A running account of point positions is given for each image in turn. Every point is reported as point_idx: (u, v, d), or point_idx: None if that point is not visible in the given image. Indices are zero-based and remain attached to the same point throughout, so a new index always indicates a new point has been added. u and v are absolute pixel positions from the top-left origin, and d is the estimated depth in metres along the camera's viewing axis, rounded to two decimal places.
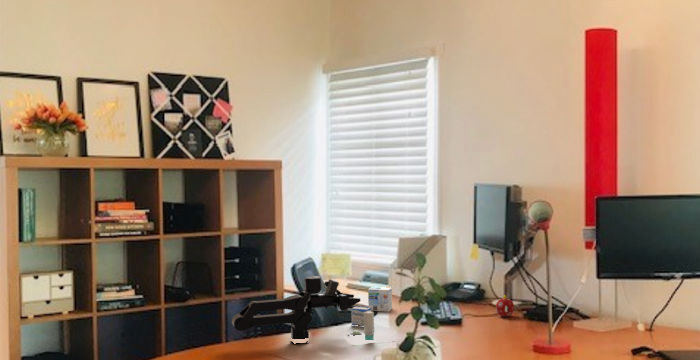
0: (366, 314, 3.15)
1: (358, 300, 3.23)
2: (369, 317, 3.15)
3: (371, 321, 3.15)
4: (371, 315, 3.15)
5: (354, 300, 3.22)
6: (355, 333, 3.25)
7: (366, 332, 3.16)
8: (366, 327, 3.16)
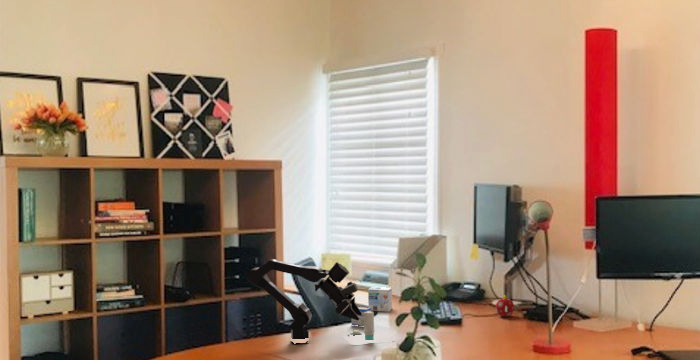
0: (366, 314, 3.15)
1: (356, 318, 3.13)
2: (369, 317, 3.15)
3: (371, 321, 3.15)
4: (371, 315, 3.15)
5: (354, 315, 3.12)
6: (355, 333, 3.25)
7: (366, 332, 3.16)
8: (366, 327, 3.16)
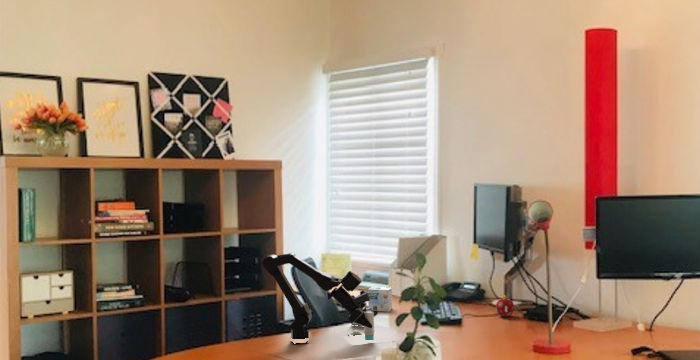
0: (366, 314, 3.15)
1: (369, 326, 3.14)
2: (369, 317, 3.15)
3: (371, 321, 3.15)
4: (371, 315, 3.15)
5: (367, 322, 3.14)
6: (355, 333, 3.25)
7: (366, 332, 3.16)
8: (366, 327, 3.16)
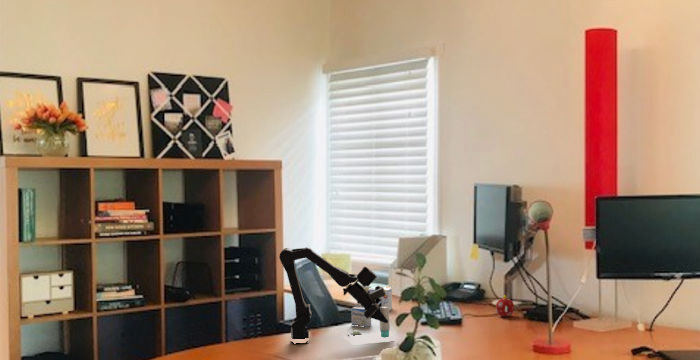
0: (382, 309, 3.18)
1: (385, 321, 3.17)
2: (385, 312, 3.18)
3: (387, 316, 3.18)
4: (387, 310, 3.18)
5: (383, 317, 3.17)
6: (355, 333, 3.25)
7: (382, 327, 3.18)
8: (382, 322, 3.18)
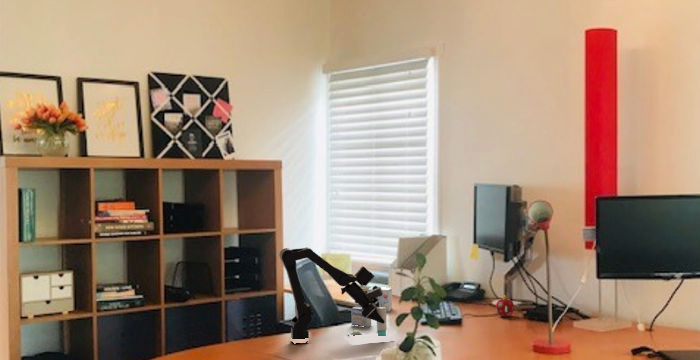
0: (379, 309, 3.23)
1: (382, 321, 3.21)
2: (382, 312, 3.23)
3: (384, 316, 3.23)
4: (384, 310, 3.23)
5: (379, 318, 3.20)
6: (355, 333, 3.25)
7: (379, 327, 3.24)
8: (379, 322, 3.23)
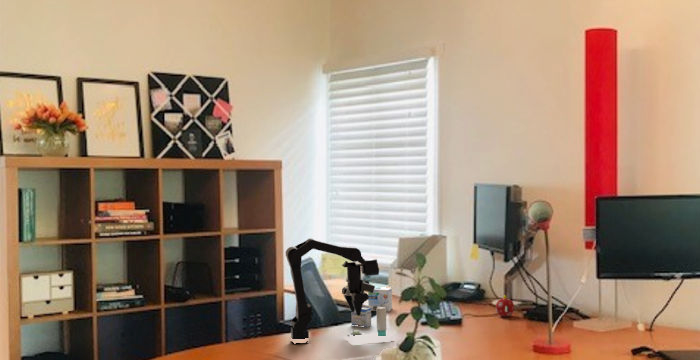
0: (379, 310, 3.23)
1: (358, 313, 3.22)
2: (382, 312, 3.23)
3: (383, 316, 3.23)
4: (384, 310, 3.23)
5: (359, 309, 3.21)
6: (355, 333, 3.25)
7: (379, 327, 3.24)
8: (379, 322, 3.23)
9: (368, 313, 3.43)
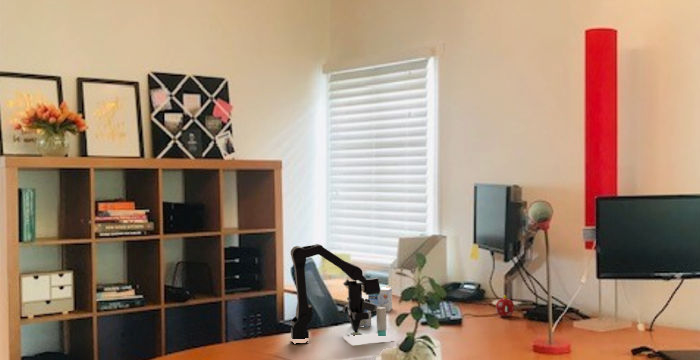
0: (379, 310, 3.23)
1: (356, 330, 3.26)
2: (382, 312, 3.23)
3: (384, 316, 3.23)
4: (384, 310, 3.23)
5: (357, 326, 3.25)
6: (355, 334, 3.25)
7: (379, 327, 3.24)
8: (379, 322, 3.23)
9: (368, 313, 3.43)
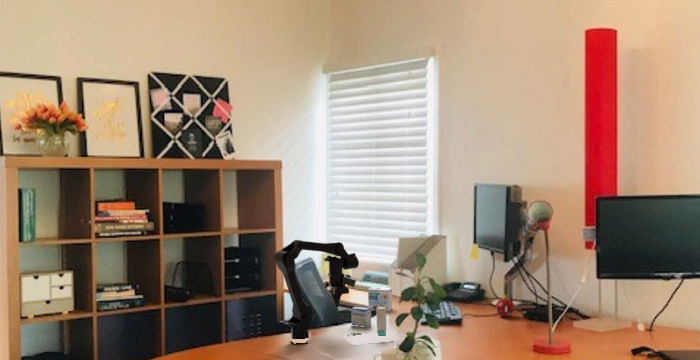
0: (379, 310, 3.23)
1: (336, 305, 3.31)
2: (382, 312, 3.23)
3: (384, 316, 3.23)
4: (384, 310, 3.23)
5: (337, 301, 3.31)
6: (355, 334, 3.25)
7: (379, 327, 3.24)
8: (379, 322, 3.23)
9: (368, 313, 3.43)
